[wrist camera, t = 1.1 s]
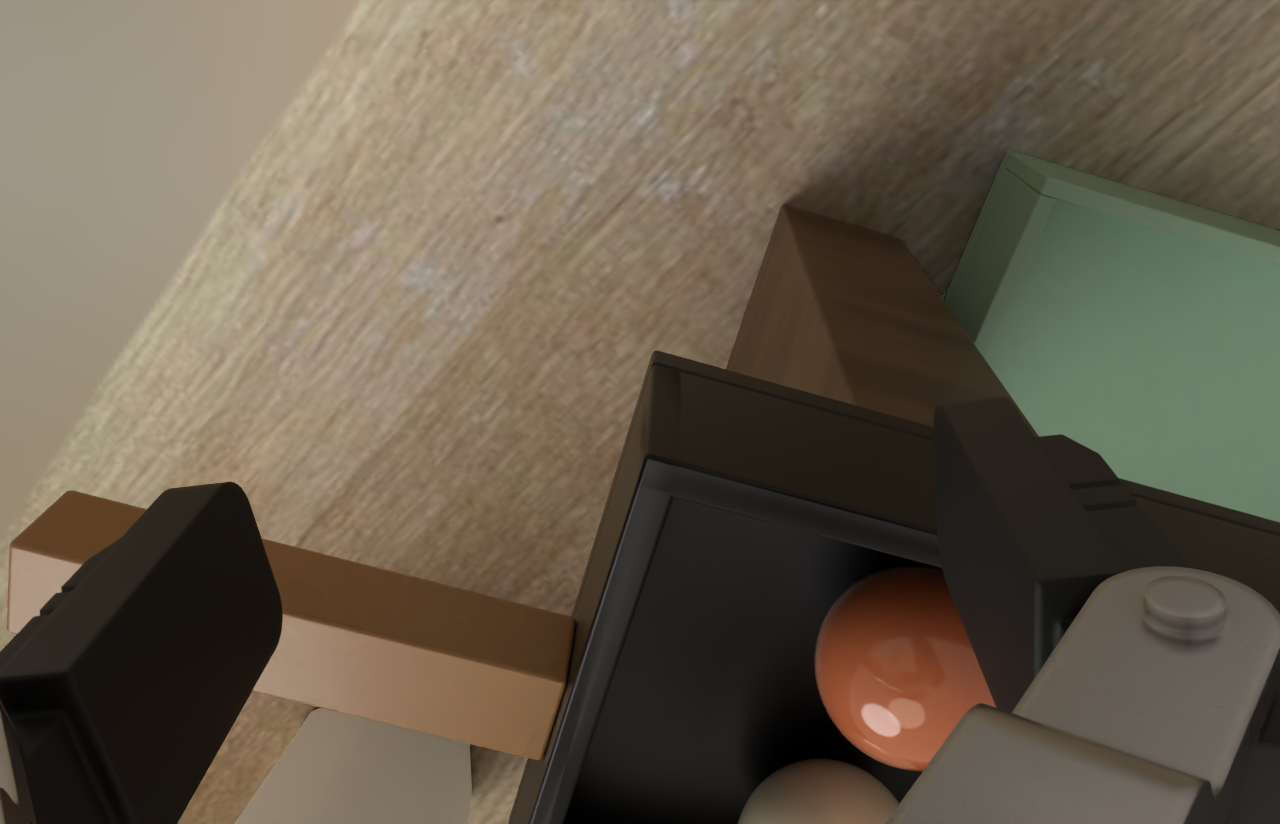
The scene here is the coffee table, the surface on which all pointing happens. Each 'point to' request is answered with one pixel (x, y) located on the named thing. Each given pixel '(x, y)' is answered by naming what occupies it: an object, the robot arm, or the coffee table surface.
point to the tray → (1131, 328)
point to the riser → (857, 323)
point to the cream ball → (819, 795)
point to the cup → (364, 776)
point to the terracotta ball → (897, 665)
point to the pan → (643, 604)
